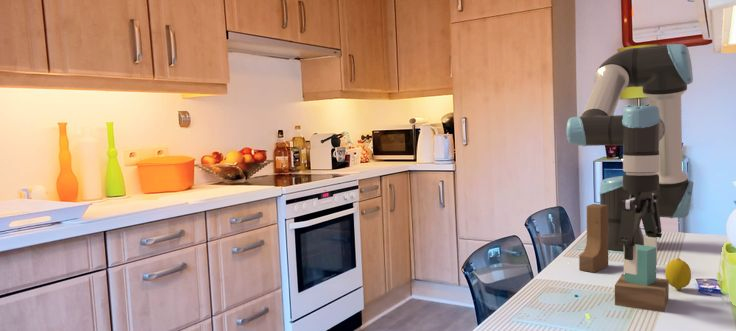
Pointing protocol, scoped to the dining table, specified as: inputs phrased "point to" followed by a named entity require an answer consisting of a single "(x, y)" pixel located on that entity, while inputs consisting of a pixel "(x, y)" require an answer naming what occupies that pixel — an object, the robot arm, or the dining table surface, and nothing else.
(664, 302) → the walnut base block
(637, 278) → the teal block
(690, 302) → the dining table surface
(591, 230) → the wooden block
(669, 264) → the lemon
